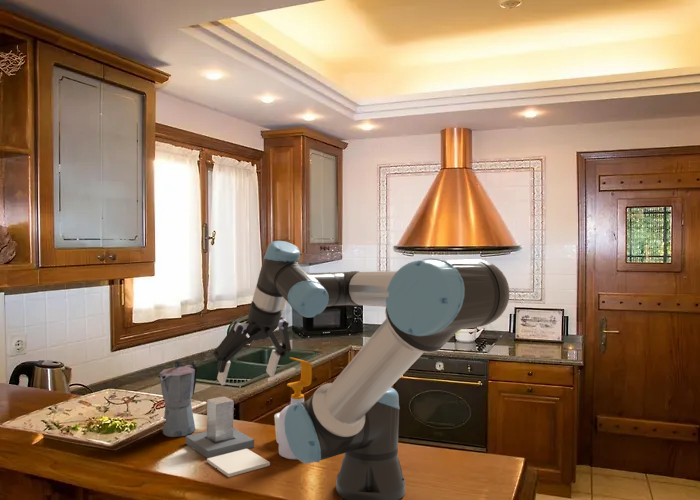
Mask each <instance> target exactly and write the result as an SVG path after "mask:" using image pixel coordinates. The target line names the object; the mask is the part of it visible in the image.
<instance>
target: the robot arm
mask: <svg viewBox="0 0 700 500" xmlns="http://www.w3.org/2000/svg"><path fill="white" fill-rule="evenodd" d="M300 257H301V251H300V249H299V246H296V245H295V244H294V243H291V242H288V241H283V240H274V241H271V242H270V243H268V245H267V248H266V251H265V254H264V256H263V260H262V263H261V267H260V271H259V274H258V278H257V283H256V286H255V289H254V294H253V296H252V300H251V303H250V306H249V310H248V314H247V321H246V322H244V323H243V322H239V321H238V320H235V321H234V323H233V324H232V328H230V330H229V332H228V333H227V335H226V336H225V337H223V340H221V342H220V343H219V345H218V346H217V347H216V349H215V350H214V351H213V353H212V355H213V356H214V358H215V359H216V361H217V362H218V364H217V367H216V369H217V370H218V374H217V377H216V379H217V381H218V382H219V384H220V385H221V386H225V384H226V382H227V378H228V375H229V374H228V373H229V371H230V367H231V363H232V362H231V360H232V358H233V357H234V356H235V355H237V354H238V353H239V352H240V351H241V350H242V349H243V348H244V347H245V346H246V345H248V344H251V343H252V342H253V341H259V340H266V339H267V338H268V339H269V341H270V342H271V344H272V345H273V347H274V349H272V350H271V353H270V357H269V360H268V363H267V366H266V370H265V372H266V373H267V375H268V376H269V377H270V378H274V377H275V373H276V370H277V367H278V365H280V363H281V360H282V358H283V357H286V355H287V353H289V352H291V350H292V347H291V342H290V336H289V332H288V329H289V324H290V323H289V321H287V320H286V319H285V317H284V316H282V314H283V310H284V308H285V305H286V302H287V304H289V306H290V307H291V308H292V309H294V311H296V312H297V313H298V314H299V315H301V316H302V317H304V318H314V317H316V315H320V314H321V313H323V312H324V311H325V309H326V308H327V307H333V306H366V307H367V306H368V307H383V308H384V307H385V311H384V314H385V320H384V321H383V322H382V323H381V324H380V326H379V327H378V328H377V329H376V330H375V331H374V333H373V334H372V335H371V336H370V338H369V339H368V340H367V341H366V343H365V344H364V345H363V346H362V347H361V348H360V350H359V351H358V352H357V353H356V354H355V356H354V357H353V358H352V359H351V361H349V362H348V364H347V365H346V366H345V368H344V369H343V370H342V371H341V372H340V373H339V374H338V375H337V377H336V378H335V379H334V381H333V382H327V383H325V384H322V385H321V386H319V387H318V388H317V389H316V390H315V391H314V393H312V395H311V396H310V397H309V398H308V399H307V400H304V402H302V403H300V402H298V403H296V404H294V405H291V406H290V407H289V408H288V410H287V412H286V414H285V421H284V425H285V434H286V438H287V442H288V444H289V447H290V449H291V451H292V453H293V454H294V456H295V457H296V458H297V459H296V460H297V461H298V460H299V461H300V462H301V463H303V464H312V463H320V462H321V461H323V460H326V459H330V458H333V457H336V456H339V455H342V454H344V455H343V458H342V461H341V462H342V463H341V466H340V469H339V472H338V473H337V476H336V481H335V482H336V484H335V485H336V486H335V490H336V493H337V494H338V496H340V497H341V498H343V499H344V500H401V499H402V498H403V497H404V496H405V494H406V479H405V476H404V475H403V470H402V466H401V463H400V459H399V454H398V453H399V431H400V430H399V428H400V426H399V425H400V409H401V407H400V402H399V401H400V398H399V397H400V396H399V393H398V391H397V390H396V389H395V388H393V386H394V384H395V383H397V382H398V380H399V379H400V378H401V377H402V376H403V375H404V374H405V373H406V372H407V371H408V370H409V369H410V368H411V366H412V365H414V363H416V361H417V360H419V358H420V357H421V356H422V355H423V354H424V353H427V354H431V353H432V354H433V353H436V352H439V350H441V349H442V347H444V345H446V344H447V343H448V342H449V341H450V339H452V337H453V336H455V334H456V333H458V332H460V331H461V330H466V329H467V330H469V329H473V328H480V327H485V326H488V325H489V324H490V325H491V323H493V322H495V321H497V320H498V319H499V318H500V317H501V316H502V315H503V314H504V312H505V311H506V309H507V308H508V307H507V306H508V304H509V301H510V287H509V286H510V285H509V283H508V280H507V278H506V276H505V274H504V273H503V271H502V270H501V269H500V268H499V267H497V266H496V265H495V264H493V263H491V262H489V261H486V260H483V259H479V258H466V259H465V258H460V259H459V258H458V259H457V258H456V259H455V258H454V259H441V258H433V257H431V258H424V259H420V260H413V261H411V262H408V263H406V264H404V265H403V266H401V267H399V269H398V270H394V271H392V270H391V271H387V270H386V271H383V270H382V271H358V270H356V271H355V270H354V271H340V272H339V271H337V272H330V271H329V272H308V271H307V270H306V269H305V268H304V267H302V265H301V264H299V261H300V259H301V258H300ZM277 328H278V330H279V336H280V341H281V344H280V342H279V340H278V338H277V337H276V335H275V334H274V332H275V331H276V330H277ZM247 335H248V336H249V337H248V336H247ZM286 352H287V353H286Z"/></svg>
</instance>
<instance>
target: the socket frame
mask: <svg viewBox="0 0 700 500" xmlns="http://www.w3.org/2000/svg"><path fill="white" fill-rule="evenodd" d="M185 444H186V445H187V446H189V447H190V448H191V449H192V450H194V451H196V452H197V453H198V454H200V455H201V456H203V457H204V458H206V460H207V459H208V458H212V457H215V456H219V455H223V454H227V453H231V452H235V451H239V450H243V449H249V450H250V449H252V448H254V447H255V439H254V438H253V437H251V436H248V435H247V434H244V433H243V432H241V431H240V430H238V429H236V428H234V427H233V440H229V441H224V442H220V443H216V444H214V443H212V442H211V441H209V440H208V439H207V430H206V431H203V432H198V433H193V434H188V435H185Z"/></svg>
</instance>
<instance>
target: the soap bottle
mask: <svg viewBox="0 0 700 500" xmlns="http://www.w3.org/2000/svg"><path fill="white" fill-rule="evenodd" d="M289 359H290V360H292V361H296V362H299V363H300V379H299V380H298V381H294V382H289V383H287V384H286V386H287V387H289V388H292V389H291V390H293V391H294V393H293V394H292V393H291V396H290V403H289V404H288V405H286V406H285V407H284V408H283V409H282V410H281V411H280V415H279V443H278V454H279V456H280V457H282V458H285V459H289V460H298V459H297V458H296V457H295V456H294V454H293V453H292V451H291V449H290V447H289V444H288V442H287V438H286V434H285V425H284V421H285V414H286V412H287V410H288V408H289V407H290V406H291V405H294V404H296V403H298V402H300V403H302V402H305V394H303V393H302V391H303V390H304V388H305V387H308V386H310V385H311V384H312V380H313V379H312V377H313V376H312V375H313V374H312V373H313V371H312V370H313V369H312V368H313V366H312V363H311V362H309V361H306V360H303V359H299V358H295V357H291V356H289Z"/></svg>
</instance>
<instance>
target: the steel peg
mask: <svg viewBox="0 0 700 500" xmlns="http://www.w3.org/2000/svg"><path fill="white" fill-rule="evenodd" d="M206 403H207V404H206V431H207V439H208V440H209V441H211V442H212V443H214V444H216V443H220V442H224V441H229V440H233V428H234V404H235V403H234V400H233V399H231V398H229V397H227V396H225V395H224V396H218V397H215V398H208V399H207V401H206Z"/></svg>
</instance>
